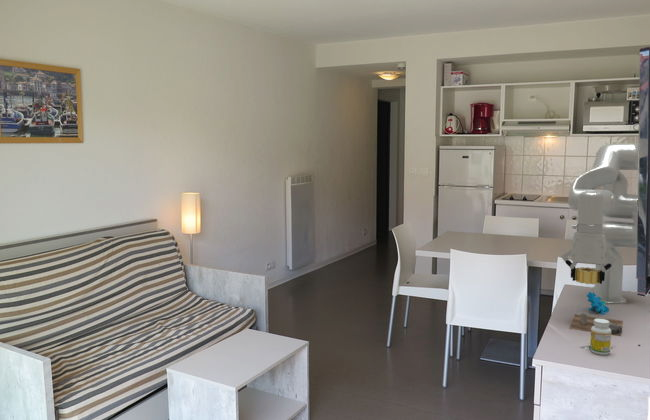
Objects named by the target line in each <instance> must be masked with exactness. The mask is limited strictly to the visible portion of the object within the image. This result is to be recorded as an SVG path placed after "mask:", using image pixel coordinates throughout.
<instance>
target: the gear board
mask: <svg viewBox="0 0 650 420" xmlns="http://www.w3.org/2000/svg"><path fill="white" fill-rule="evenodd" d="M594 319H605V320H608V321H609V328H610V329H611V336H616V337H622V333H623V325H624V320H622V319H621V320H619V319H612V318H604V317H596V316H589V315H588V314H586V313H581V314H574V315H573V318H572V321H571V323H570V326H569V328H568V329H569V330H575V331H582V332H590V333H591V328H592V327H593V326H595V325H594Z"/></svg>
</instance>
